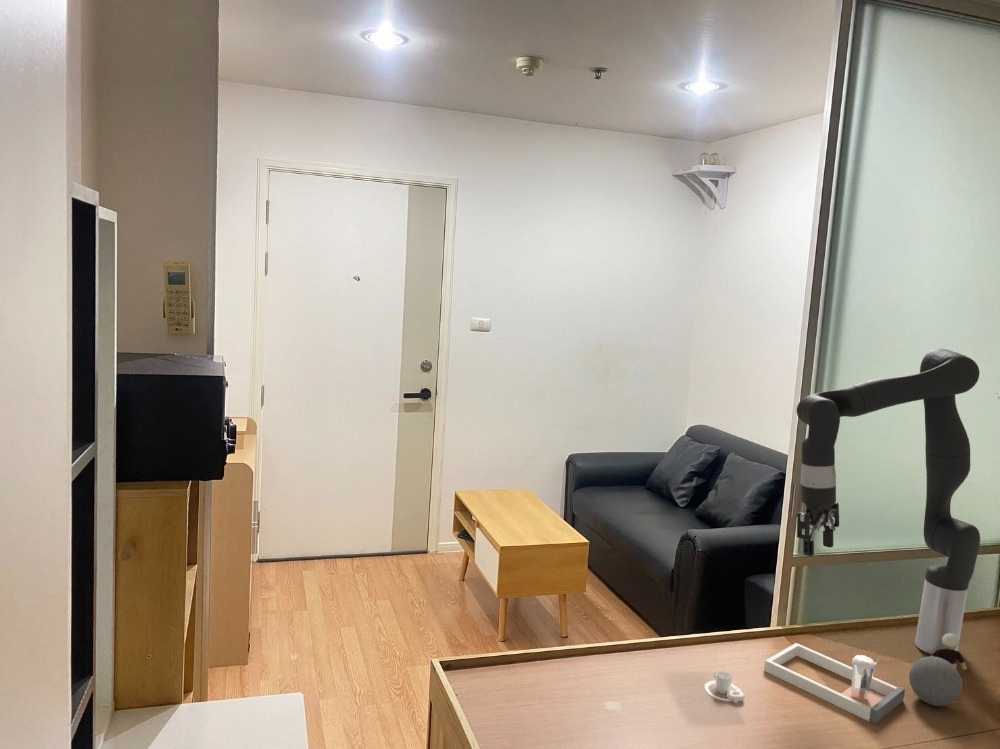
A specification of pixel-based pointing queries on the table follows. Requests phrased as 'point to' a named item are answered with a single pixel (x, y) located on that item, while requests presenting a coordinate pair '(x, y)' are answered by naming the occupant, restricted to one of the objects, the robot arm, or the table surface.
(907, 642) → the table surface
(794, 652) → the tray
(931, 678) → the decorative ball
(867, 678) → the milkshake
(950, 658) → the grandmother figurine
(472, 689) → the table surface
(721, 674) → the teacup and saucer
